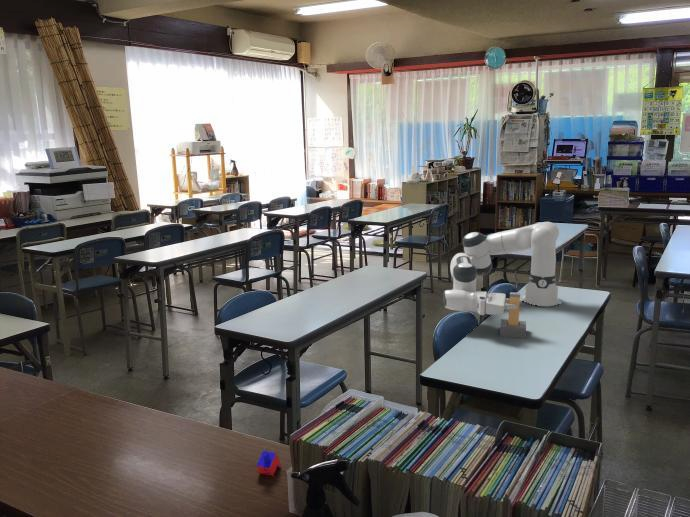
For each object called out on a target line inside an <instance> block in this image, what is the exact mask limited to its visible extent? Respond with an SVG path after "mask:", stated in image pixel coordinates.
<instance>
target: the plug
mask: <svg viewBox="0 0 690 517" xmlns="http://www.w3.org/2000/svg"><path fill="white" fill-rule="evenodd" d="M509 299H510V300H509V304H516V305H517V307H516V309H508V319H507V320H508V325H511V326H518V323H519V321H520V305H521V304H520V302H521V292H512V291H510V292H509Z"/></svg>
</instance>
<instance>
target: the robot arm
mask: <svg viewBox="0 0 690 517" xmlns="http://www.w3.org/2000/svg"><path fill="white" fill-rule="evenodd" d="M559 230H560V229H559V228H558V226H557V225H556V224H555V223H553V222H551V221H542V222H538V223H534V224H529V225H525V226H522V227H518V228H513V229H509V230H508V229H507V230H503V231H498V232H495V233H491V234H489V235H486V234H483V233H481V232H479V231H473V232H470V233H467V234H466V235H464V236H463V237H462V246H463V252H458V253H455V255H454V256H453V257H452V258H451V261H450V266H449V268H450V269H449V270H450V274H451V277H452V278H453V284H452V286H453V287H452V289H446V290H444V291H443V293H442V294H443V296H442V297H443V307H444V308H445V309H448V310H453V311H457V312H458V311H459V312H466V311H467V312H468V311H470V312H472V313H477V314H478V315H480V316H485V315H492V316H493V315H494V316H499V315H500V316H501V315H505V310H509V309H516V307H517V305H516V304H509V300H510V298H506V297H507V295H506V293H503V292H502V293H501V292H490V293H488V292H487V291H484V290H483V291H481V290H477V276H481V277H482V276H485V275H488V274H489V273H491V271H492V270H493V262H492V260H491V256H493V255H494V256H495V255H498V256H499V255H506V254H512V253H516V252H523V251H526V250H529V249H531V250H530V251H531V252H530V254H531V264H530V266H531V267H530V273H529V278H528V279H529V281H528V283H527V284H526V285H525V286H524V291H525V292H524V295H523V296H522V297H520V302H522V301H524V302H523V303H526V302H527V303H526V304H528V303H529V305H531V304H532V306H535V305H537V306H538V307H554V306H558V304H559V305H562V301H561V300H560V299H559V286H557V284H556V281H557V277H556V276H557V275H556V264H557V263H556V262H557V258H556V257H557V256H556V255H557V254H556V253H557V252H556V247H557V246H556V244H557V243H556V242H557V241H558V239H559V236H560V231H559Z"/></svg>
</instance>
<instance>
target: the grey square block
mask: <svg viewBox="0 0 690 517" xmlns="http://www.w3.org/2000/svg"><path fill="white" fill-rule="evenodd" d="M499 327H500V328H499V336H500V337H508V338H518V337H519V339H526V334H527V321H526V320H519V323H518V326H511V325H508V319H504V318H502V319H501V320H500V326H499Z"/></svg>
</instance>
